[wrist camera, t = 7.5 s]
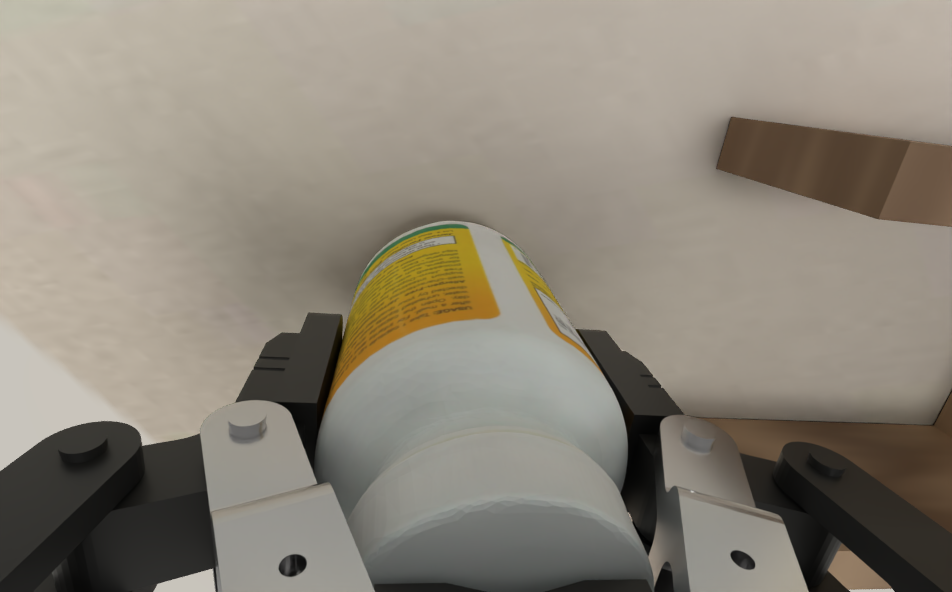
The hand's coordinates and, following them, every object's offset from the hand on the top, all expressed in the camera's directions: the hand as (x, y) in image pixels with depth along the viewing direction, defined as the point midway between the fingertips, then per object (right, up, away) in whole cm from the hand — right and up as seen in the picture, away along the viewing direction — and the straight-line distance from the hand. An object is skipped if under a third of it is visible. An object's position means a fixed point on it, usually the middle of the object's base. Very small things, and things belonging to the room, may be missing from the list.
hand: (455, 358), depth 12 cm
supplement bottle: (0, +1, +3) cm, 3 cm away
